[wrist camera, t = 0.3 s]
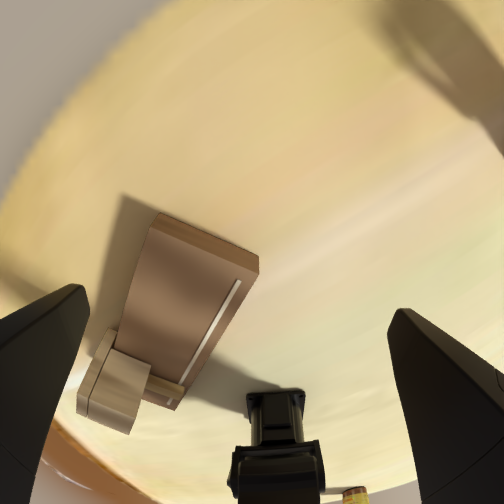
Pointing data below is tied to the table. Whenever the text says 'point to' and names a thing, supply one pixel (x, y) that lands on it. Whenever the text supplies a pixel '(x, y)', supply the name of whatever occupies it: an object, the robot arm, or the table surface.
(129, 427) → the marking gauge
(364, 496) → the sauce bottle
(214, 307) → the walnut board
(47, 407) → the robot arm
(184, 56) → the table surface
